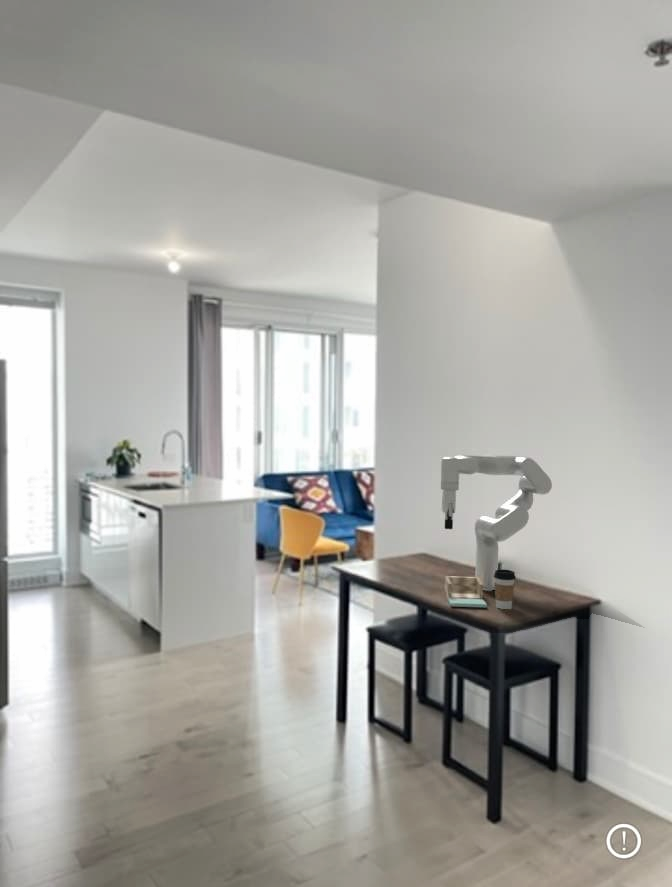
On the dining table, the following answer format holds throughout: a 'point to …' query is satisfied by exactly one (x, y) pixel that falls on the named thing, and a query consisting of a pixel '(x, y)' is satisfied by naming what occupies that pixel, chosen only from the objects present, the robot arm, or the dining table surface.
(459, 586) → the crate
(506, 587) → the coffee cup
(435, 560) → the dining table surface
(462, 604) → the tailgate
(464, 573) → the dining table surface
